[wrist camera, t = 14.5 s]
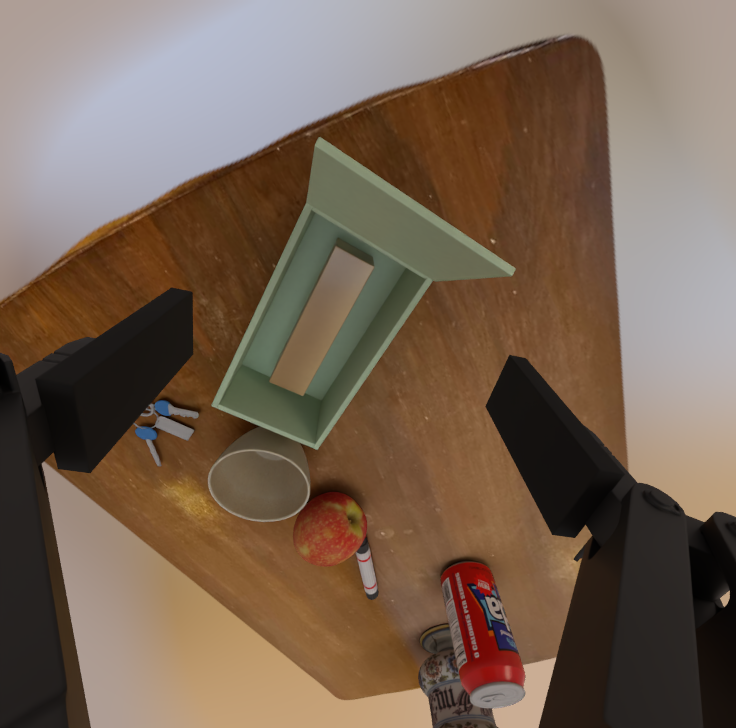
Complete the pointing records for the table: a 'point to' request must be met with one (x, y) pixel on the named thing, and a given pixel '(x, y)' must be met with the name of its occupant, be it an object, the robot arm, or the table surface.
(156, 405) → the key chain
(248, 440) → the flower pot
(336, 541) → the apple
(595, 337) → the table surface
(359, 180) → the flap
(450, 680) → the apothecary jar
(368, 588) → the marker
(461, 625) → the soda can
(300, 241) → the carton
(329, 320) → the birch block
